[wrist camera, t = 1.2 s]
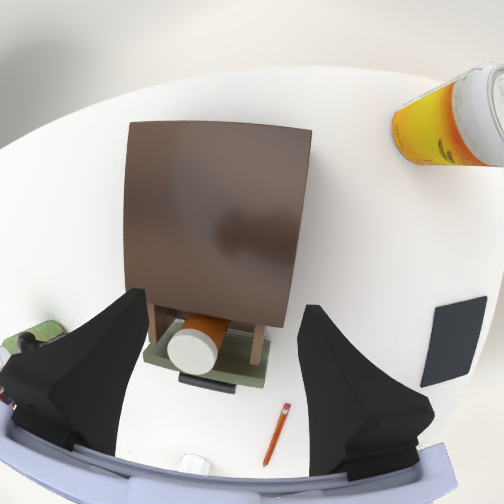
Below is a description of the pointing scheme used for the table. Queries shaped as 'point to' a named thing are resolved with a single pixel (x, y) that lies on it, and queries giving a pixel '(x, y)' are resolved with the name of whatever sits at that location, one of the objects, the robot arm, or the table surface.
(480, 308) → the mat
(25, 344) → the beverage can
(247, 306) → the cabinet
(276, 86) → the table surface
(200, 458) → the cup
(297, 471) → the table surface
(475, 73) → the beer can
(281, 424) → the pencil
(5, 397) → the egg
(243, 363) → the drawer
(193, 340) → the bottle
